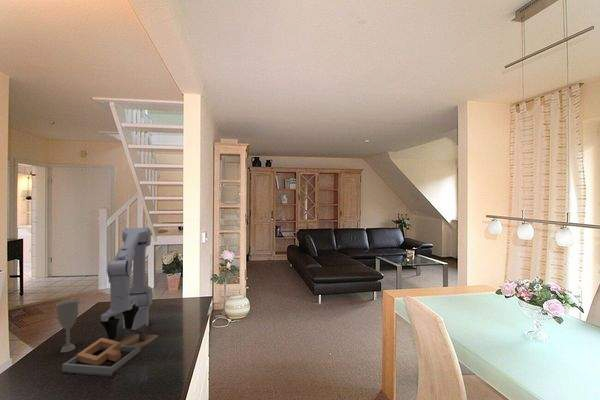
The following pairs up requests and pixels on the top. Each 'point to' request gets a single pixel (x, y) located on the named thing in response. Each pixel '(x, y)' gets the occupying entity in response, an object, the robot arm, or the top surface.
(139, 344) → the tan wooden piece
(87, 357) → the tan flat frame
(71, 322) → the chalice
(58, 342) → the top surface
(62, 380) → the top surface
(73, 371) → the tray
